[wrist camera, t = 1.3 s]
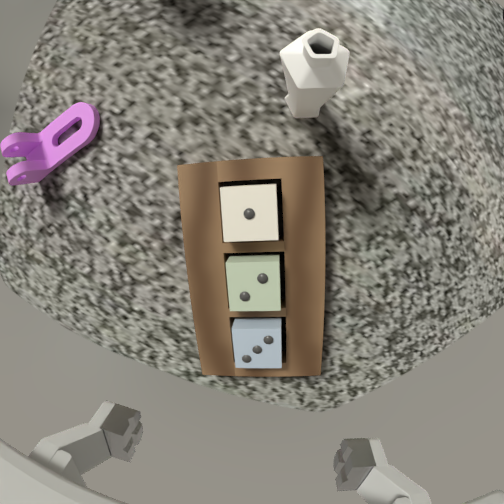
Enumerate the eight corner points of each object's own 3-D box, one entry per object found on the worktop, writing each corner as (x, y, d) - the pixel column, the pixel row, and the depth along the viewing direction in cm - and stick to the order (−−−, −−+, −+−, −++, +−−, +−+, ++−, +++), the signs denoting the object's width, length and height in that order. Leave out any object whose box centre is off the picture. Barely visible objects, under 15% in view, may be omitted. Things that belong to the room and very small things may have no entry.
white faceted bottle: (334, 114, 28) (376, 66, 13) (295, 128, 29) (306, 88, 14) (315, 76, 27) (339, 5, 12) (277, 90, 28) (271, 24, 13)
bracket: (39, 182, 33) (4, 186, 26) (30, 148, 32) (-5, 148, 25) (105, 132, 31) (70, 126, 24) (93, 95, 30) (59, 85, 23)
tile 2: (279, 254, 30) (279, 261, 28) (280, 300, 32) (280, 311, 29) (229, 255, 31) (225, 263, 28) (233, 301, 32) (229, 311, 30)
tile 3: (281, 317, 32) (280, 329, 30) (281, 355, 33) (281, 368, 31) (235, 317, 33) (231, 329, 30) (238, 355, 34) (235, 368, 31)
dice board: (319, 157, 29) (322, 156, 27) (318, 363, 35) (320, 375, 33) (185, 165, 31) (177, 165, 28) (207, 363, 37) (202, 374, 34)
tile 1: (276, 183, 29) (275, 184, 26) (278, 234, 30) (278, 240, 27) (225, 186, 29) (219, 187, 27) (228, 236, 30) (223, 242, 28)
